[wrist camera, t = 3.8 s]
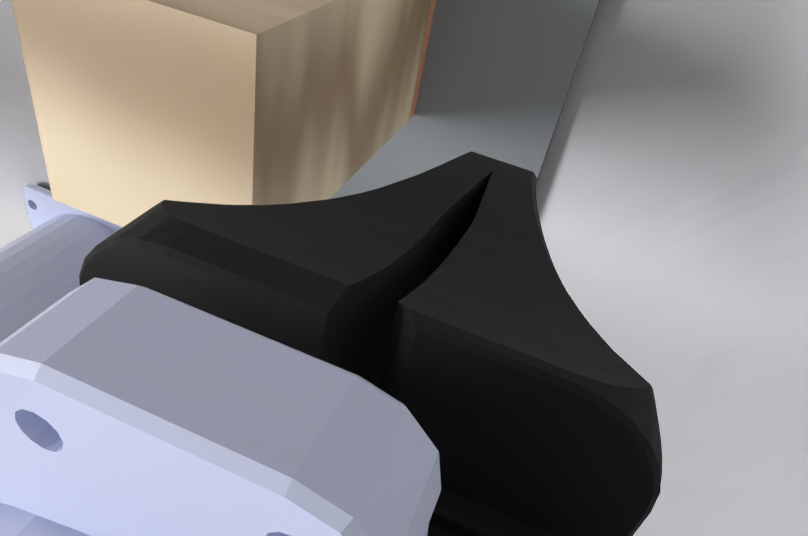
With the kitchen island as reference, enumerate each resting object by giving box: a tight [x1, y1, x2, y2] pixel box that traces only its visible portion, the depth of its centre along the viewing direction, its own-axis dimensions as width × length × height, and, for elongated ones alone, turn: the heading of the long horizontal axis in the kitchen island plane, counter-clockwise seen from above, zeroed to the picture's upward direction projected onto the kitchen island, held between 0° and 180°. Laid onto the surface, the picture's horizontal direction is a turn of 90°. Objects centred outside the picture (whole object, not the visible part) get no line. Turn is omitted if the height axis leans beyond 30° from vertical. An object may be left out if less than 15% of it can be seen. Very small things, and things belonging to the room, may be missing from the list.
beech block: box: [12, 0, 436, 227], centre depth 16 cm, size 5×5×10 cm
